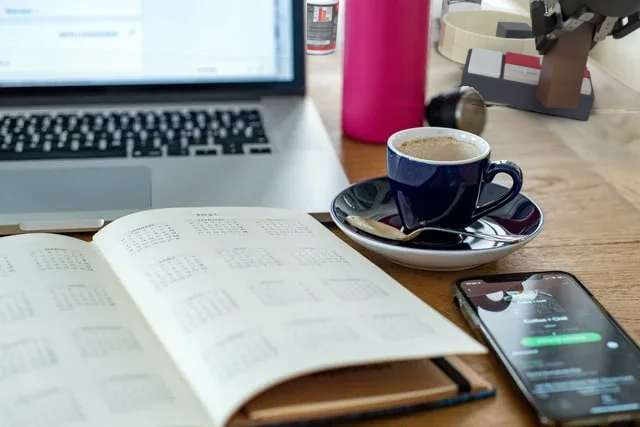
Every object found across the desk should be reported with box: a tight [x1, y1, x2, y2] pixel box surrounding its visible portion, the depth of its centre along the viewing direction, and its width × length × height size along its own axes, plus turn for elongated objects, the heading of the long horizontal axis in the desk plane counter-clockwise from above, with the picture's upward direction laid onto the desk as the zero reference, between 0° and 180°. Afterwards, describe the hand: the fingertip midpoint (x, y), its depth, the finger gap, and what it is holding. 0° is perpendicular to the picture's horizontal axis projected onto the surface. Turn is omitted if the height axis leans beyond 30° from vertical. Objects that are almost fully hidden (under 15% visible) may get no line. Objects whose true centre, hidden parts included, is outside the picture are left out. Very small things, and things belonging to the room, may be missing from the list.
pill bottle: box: [306, 0, 340, 56], centre depth 116 cm, size 6×6×10 cm
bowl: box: [437, 9, 543, 66], centre depth 119 cm, size 15×15×5 cm
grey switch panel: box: [459, 47, 595, 122], centre depth 105 cm, size 11×4×15 cm
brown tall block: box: [536, 4, 595, 108], centre depth 93 cm, size 4×4×12 cm
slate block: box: [496, 22, 534, 39], centre depth 119 cm, size 4×4×4 cm
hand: (559, 47), depth 95 cm, fingers closed on brown tall block, 3 cm apart
